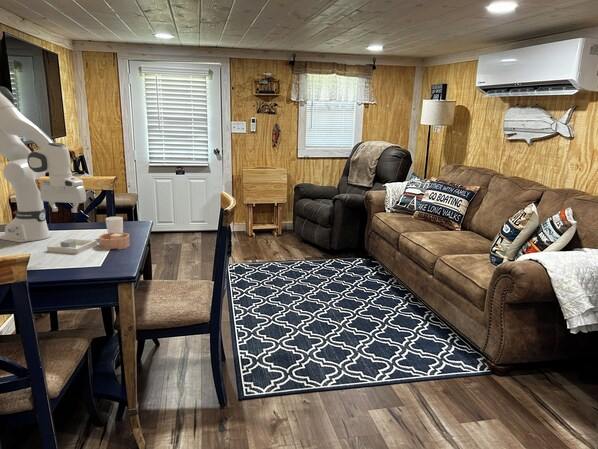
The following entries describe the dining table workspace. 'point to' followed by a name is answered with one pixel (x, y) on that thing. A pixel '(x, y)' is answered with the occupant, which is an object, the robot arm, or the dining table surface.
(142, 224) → the dining table surface
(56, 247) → the parts tray
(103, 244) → the bowl
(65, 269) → the dining table surface
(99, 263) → the dining table surface
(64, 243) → the grey cube
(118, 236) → the tan cube
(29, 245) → the dining table surface
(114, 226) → the white cup
